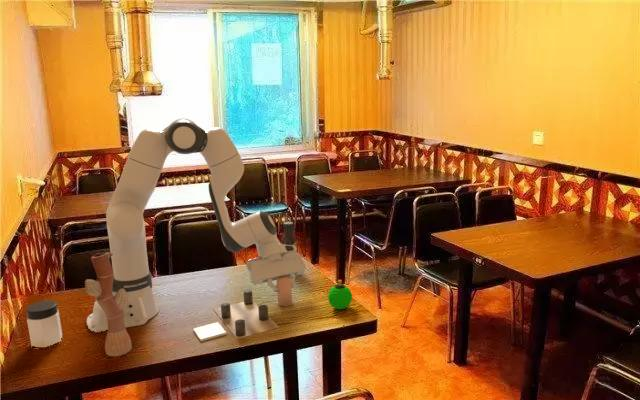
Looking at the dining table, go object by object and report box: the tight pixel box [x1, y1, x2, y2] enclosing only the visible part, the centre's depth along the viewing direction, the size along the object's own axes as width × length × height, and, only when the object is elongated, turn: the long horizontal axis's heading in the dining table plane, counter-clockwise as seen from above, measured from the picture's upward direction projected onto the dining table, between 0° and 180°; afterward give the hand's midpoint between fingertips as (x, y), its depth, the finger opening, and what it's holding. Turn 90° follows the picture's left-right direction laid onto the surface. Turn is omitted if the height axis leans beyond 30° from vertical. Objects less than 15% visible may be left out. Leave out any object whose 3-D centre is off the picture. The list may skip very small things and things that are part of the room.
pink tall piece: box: [84, 251, 133, 357], centre depth 146 cm, size 10×7×30 cm
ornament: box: [327, 279, 353, 310], centre depth 171 cm, size 8×8×10 cm
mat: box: [192, 321, 227, 342], centre depth 158 cm, size 8×8×1 cm
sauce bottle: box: [281, 221, 298, 253], centre depth 207 cm, size 7×6×20 cm
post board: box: [212, 289, 280, 340], centre depth 167 cm, size 14×24×5 cm, turn 28°
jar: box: [26, 300, 63, 347], centre depth 154 cm, size 9×8×12 cm
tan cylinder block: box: [275, 276, 293, 307], centre depth 176 cm, size 5×5×9 cm
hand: (285, 289), depth 176 cm, fingers closed on tan cylinder block, 5 cm apart
